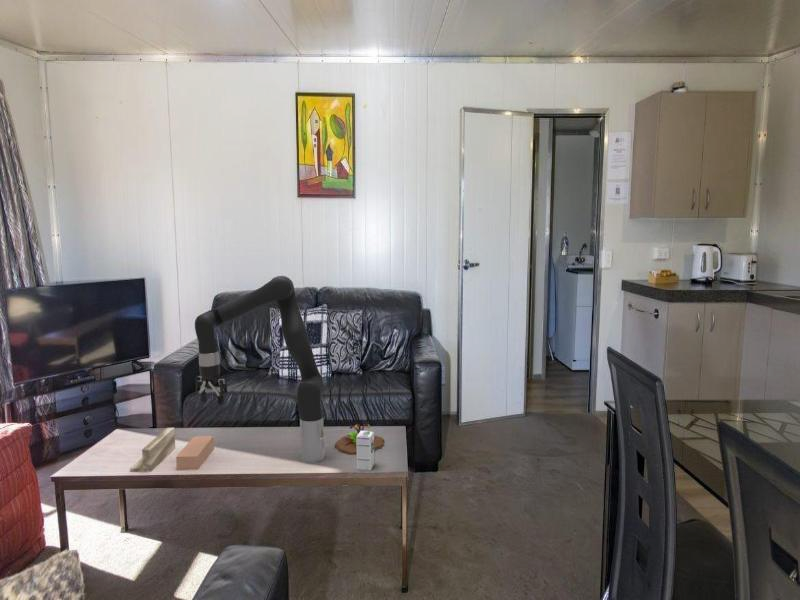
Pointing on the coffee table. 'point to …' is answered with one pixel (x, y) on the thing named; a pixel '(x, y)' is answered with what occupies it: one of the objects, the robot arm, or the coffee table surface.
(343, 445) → the plant
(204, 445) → the terracotta block
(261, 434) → the coffee table surface
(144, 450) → the beige ridged rail
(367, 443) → the syrup box
